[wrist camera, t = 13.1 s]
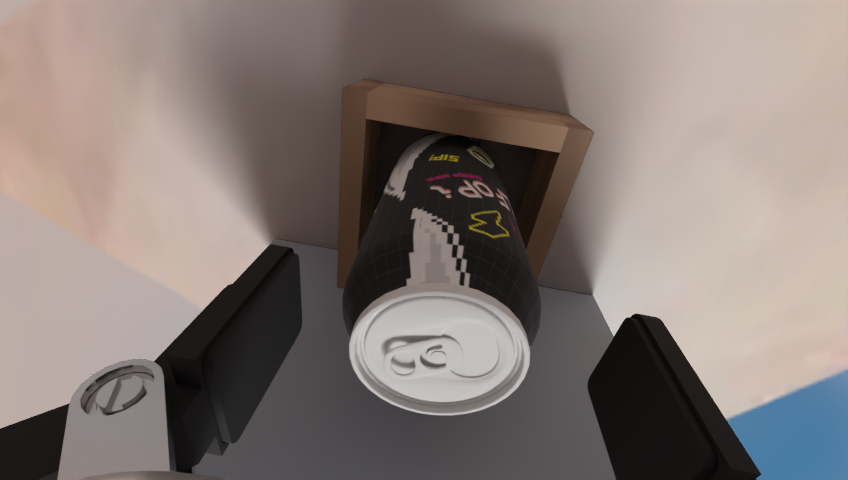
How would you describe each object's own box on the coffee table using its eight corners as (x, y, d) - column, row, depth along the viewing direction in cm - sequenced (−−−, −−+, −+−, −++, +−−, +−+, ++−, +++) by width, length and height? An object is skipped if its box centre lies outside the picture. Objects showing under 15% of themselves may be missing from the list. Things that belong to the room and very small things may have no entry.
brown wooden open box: (570, 114, 17) (593, 132, 14) (513, 281, 22) (521, 320, 19) (364, 79, 17) (342, 88, 14) (354, 252, 22) (336, 287, 19)
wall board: (593, 295, 22) (753, 616, 10) (583, 313, 23) (721, 631, 11) (275, 238, 22) (46, 484, 10) (277, 258, 23) (66, 508, 11)
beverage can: (380, 140, 18) (286, 286, 8) (494, 118, 17) (556, 253, 7) (405, 235, 21) (360, 436, 11) (503, 221, 20) (559, 426, 10)
